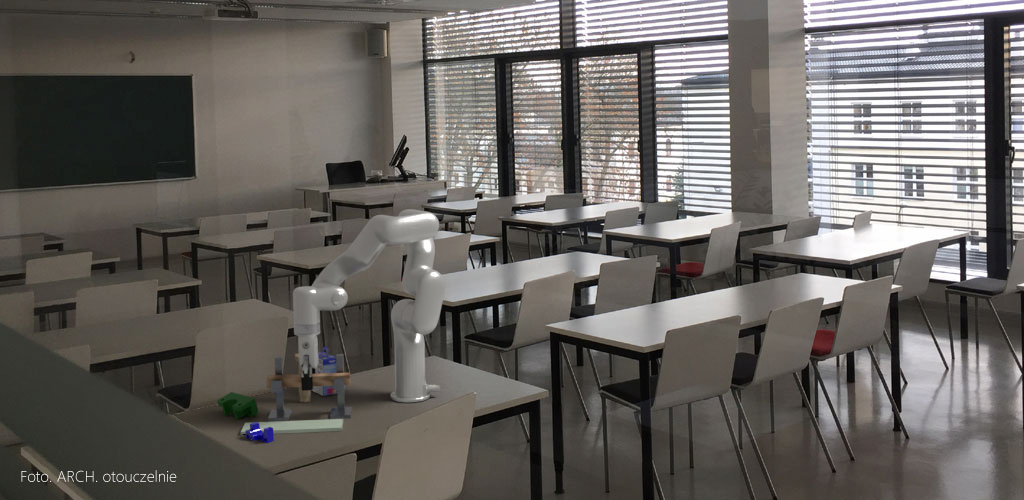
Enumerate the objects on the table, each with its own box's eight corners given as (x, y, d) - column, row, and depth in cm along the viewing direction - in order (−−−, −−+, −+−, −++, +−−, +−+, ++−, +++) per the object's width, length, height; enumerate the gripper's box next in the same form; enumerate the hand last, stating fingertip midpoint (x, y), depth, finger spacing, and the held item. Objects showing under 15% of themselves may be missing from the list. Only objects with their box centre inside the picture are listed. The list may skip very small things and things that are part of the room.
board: (343, 422, 277) (343, 418, 277) (341, 430, 269) (341, 427, 269) (245, 426, 273) (245, 422, 273) (240, 435, 265) (240, 431, 265)
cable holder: (245, 439, 263) (245, 425, 262) (256, 435, 266) (255, 422, 265) (263, 445, 258) (262, 431, 257) (273, 441, 261) (273, 427, 260)
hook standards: (351, 410, 288) (350, 352, 286) (350, 419, 279) (348, 360, 277) (271, 413, 285) (269, 355, 283) (267, 422, 276) (265, 362, 274)
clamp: (227, 428, 285) (212, 402, 284) (242, 419, 289) (228, 393, 289) (246, 421, 277) (232, 394, 276) (262, 411, 281) (247, 385, 281)
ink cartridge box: (338, 393, 306) (337, 350, 304) (323, 396, 302) (321, 352, 300) (324, 387, 313) (323, 344, 311) (309, 390, 310) (307, 347, 308)
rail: (350, 382, 282) (350, 372, 282) (349, 385, 279) (349, 375, 279) (268, 385, 280) (267, 375, 279) (266, 388, 277) (266, 378, 276)
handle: (303, 405, 293) (301, 358, 291) (293, 400, 298) (291, 354, 296) (317, 402, 296) (315, 355, 294) (307, 397, 301) (305, 351, 299)
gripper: (317, 334, 269) (319, 393, 271) (322, 322, 286) (323, 377, 288) (290, 335, 268) (292, 394, 270) (297, 322, 285) (298, 378, 288)
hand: (308, 385), depth 279 cm, fingers open, 9 cm apart
